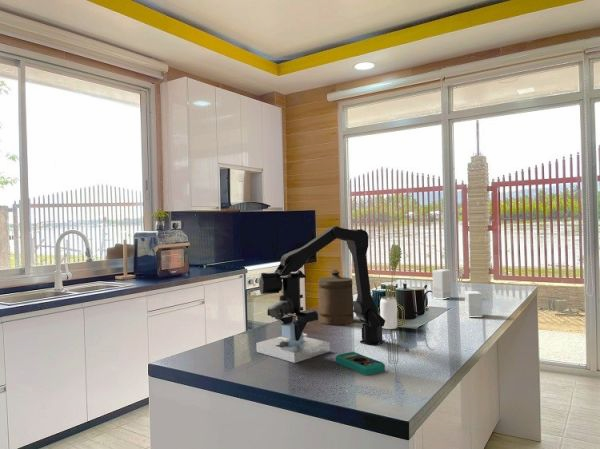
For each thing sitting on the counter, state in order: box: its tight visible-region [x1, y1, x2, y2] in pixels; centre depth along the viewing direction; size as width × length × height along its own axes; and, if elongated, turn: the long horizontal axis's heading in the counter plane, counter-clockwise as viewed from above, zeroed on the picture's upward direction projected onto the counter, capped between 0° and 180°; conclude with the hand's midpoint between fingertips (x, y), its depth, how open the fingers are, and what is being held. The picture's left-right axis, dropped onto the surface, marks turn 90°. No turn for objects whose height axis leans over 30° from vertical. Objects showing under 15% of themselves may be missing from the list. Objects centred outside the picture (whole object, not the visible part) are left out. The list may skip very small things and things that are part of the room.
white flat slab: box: [255, 335, 331, 364], centre depth 147 cm, size 18×16×3 cm
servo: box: [278, 323, 308, 348], centre depth 147 cm, size 4×10×8 cm, turn 135°
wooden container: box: [317, 269, 355, 326], centre depth 191 cm, size 15×15×22 cm
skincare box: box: [432, 268, 452, 298], centre depth 241 cm, size 8×7×16 cm
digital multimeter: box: [335, 351, 386, 376], centre depth 130 cm, size 7×15×3 cm, turn 31°
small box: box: [464, 290, 484, 317], centre depth 195 cm, size 8×6×10 cm
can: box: [379, 295, 398, 330], centre depth 177 cm, size 6×6×12 cm
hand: (292, 339), depth 147 cm, fingers closed on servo, 4 cm apart
